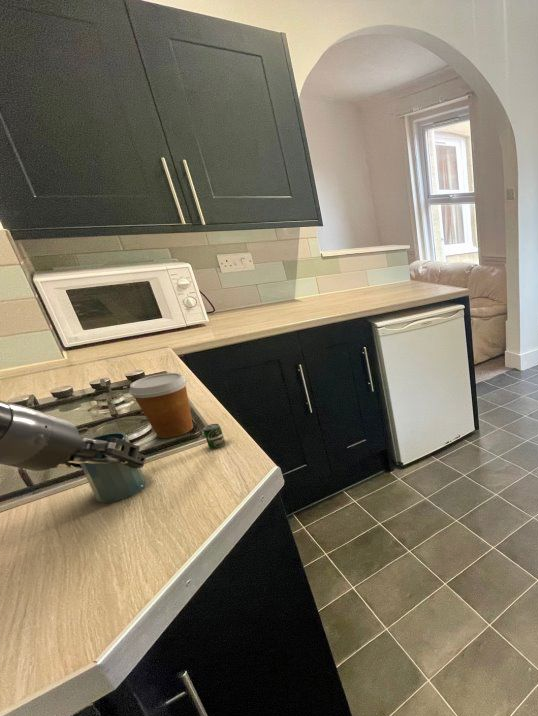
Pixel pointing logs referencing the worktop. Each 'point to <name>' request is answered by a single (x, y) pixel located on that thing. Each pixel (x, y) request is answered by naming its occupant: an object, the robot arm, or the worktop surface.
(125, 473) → the cup
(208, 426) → the beer can
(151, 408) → the disposable coffee cup
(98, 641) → the worktop surface
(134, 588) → the worktop surface
